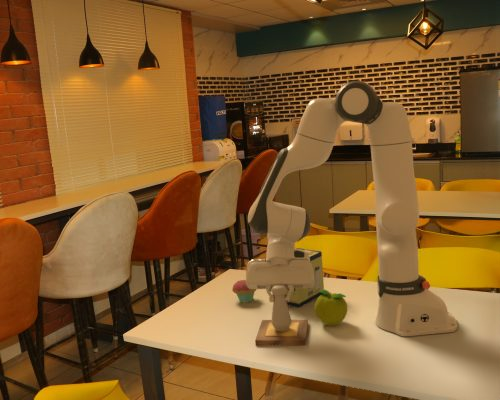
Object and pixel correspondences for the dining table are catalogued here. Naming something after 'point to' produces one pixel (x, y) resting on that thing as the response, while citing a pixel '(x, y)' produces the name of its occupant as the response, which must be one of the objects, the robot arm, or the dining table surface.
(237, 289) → the cupcake
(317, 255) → the protein box
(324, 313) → the fruit
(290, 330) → the base board
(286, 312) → the salt shaker
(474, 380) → the dining table surface
